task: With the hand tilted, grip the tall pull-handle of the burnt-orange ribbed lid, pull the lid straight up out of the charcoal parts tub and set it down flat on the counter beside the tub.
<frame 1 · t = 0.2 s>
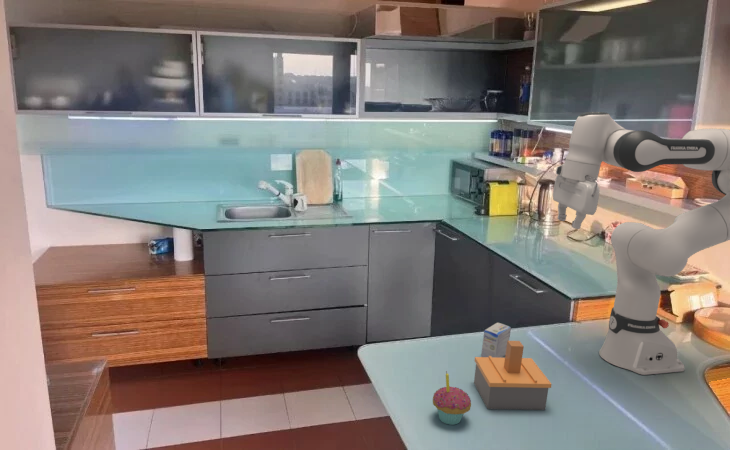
hand: (568, 224, 152), 39 cm above the countertop, tool pointing down, fingers open, 8 cm apart
lid: (511, 373, 139), point 6 cm above the countertop, touching tub
tub: (508, 395, 140), on the countertop
cupcake: (449, 419, 129), on the countertop
medicine box: (494, 357, 161), on the countertop
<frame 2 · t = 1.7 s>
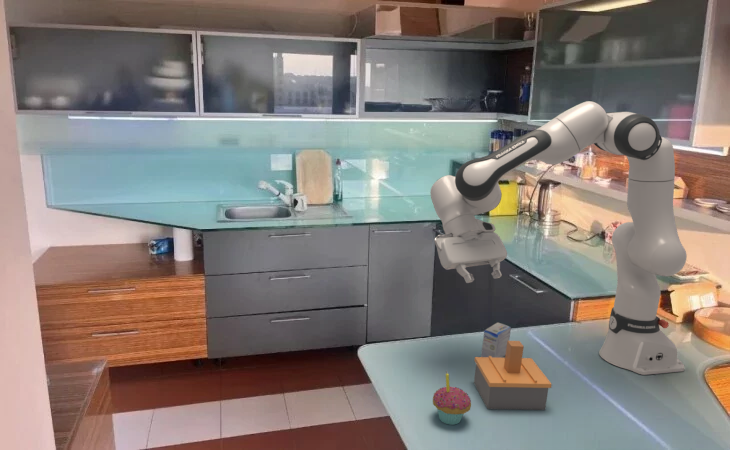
hand: (484, 279, 144), 26 cm above the countertop, tool tilted 45°, fingers open, 8 cm apart
nothing on the countertop moved.
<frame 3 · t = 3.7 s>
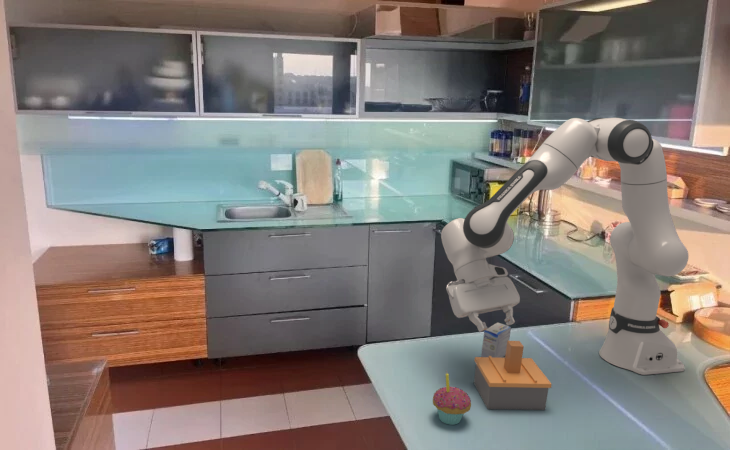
hand: (497, 327, 141), 16 cm above the countertop, tool tilted 45°, fingers open, 8 cm apart
nothing on the countertop moved.
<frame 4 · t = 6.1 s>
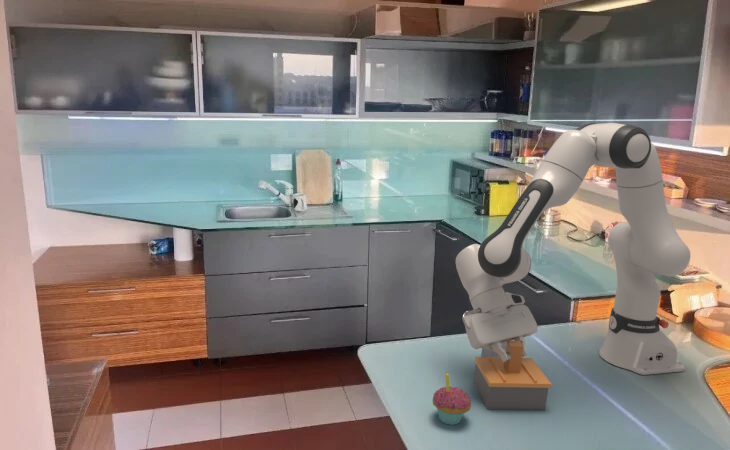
hand: (515, 358, 137), 10 cm above the countertop, tool tilted 45°, fingers closed on lid, 4 cm apart
lid: (511, 373, 139), point 6 cm above the countertop, touching gripper, tub
everything else where it was.
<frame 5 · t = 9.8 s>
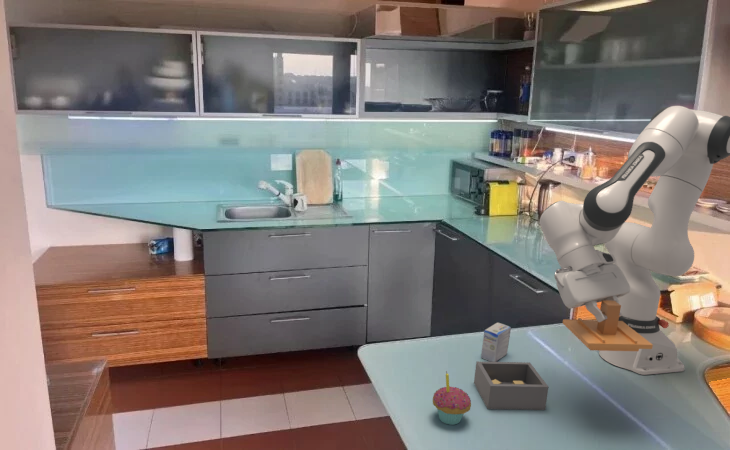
hand: (610, 318, 129), 24 cm above the countertop, tool tilted 45°, fingers closed on lid, 4 cm apart
lid: (605, 335, 130), point 20 cm above the countertop, touching gripper
everything else where it was.
when the fingers open (7 cm above the countertop, at t = 13.6 s): lid drops 2 cm, point 1 cm above the countertop.
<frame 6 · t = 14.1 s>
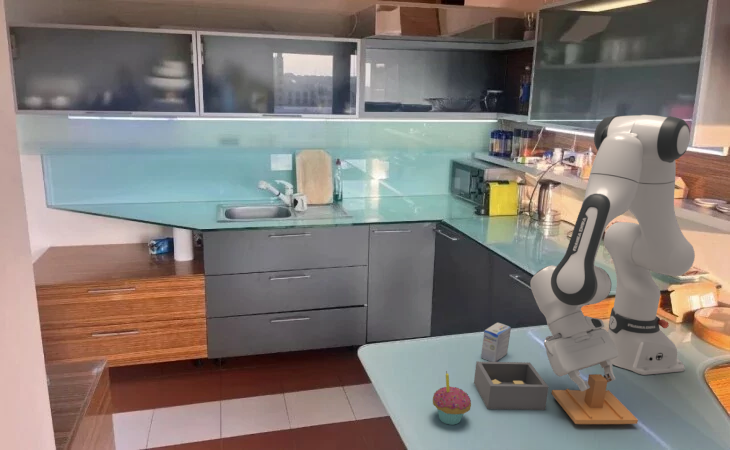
hand: (598, 385, 133), 7 cm above the countertop, tool tilted 45°, fingers open, 8 cm apart
lid: (592, 408, 135), point 1 cm above the countertop
everything else where it was.
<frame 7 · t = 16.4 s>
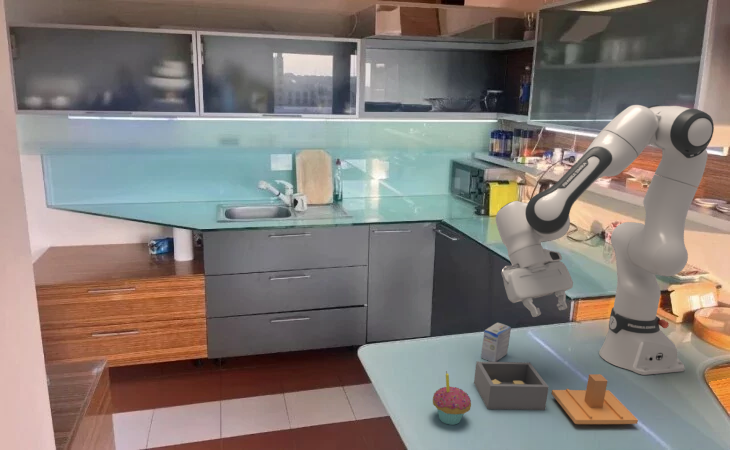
hand: (550, 312, 143), 20 cm above the countertop, tool tilted 40°, fingers open, 8 cm apart
nothing on the countertop moved.
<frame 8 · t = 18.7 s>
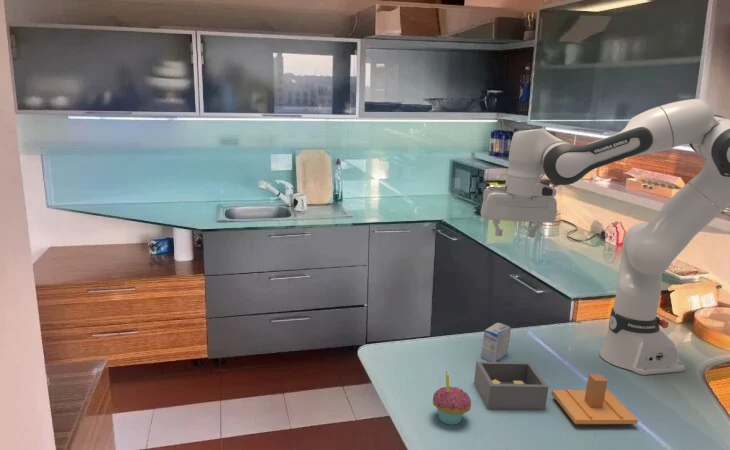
hand: (515, 236, 157), 34 cm above the countertop, tool pointing down, fingers open, 8 cm apart
nothing on the countertop moved.
at the end: lid inside the target area (0.1 cm from its centre), point 1.2 cm above the countertop; lid tilted 0°; the gripper is holding nothing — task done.
